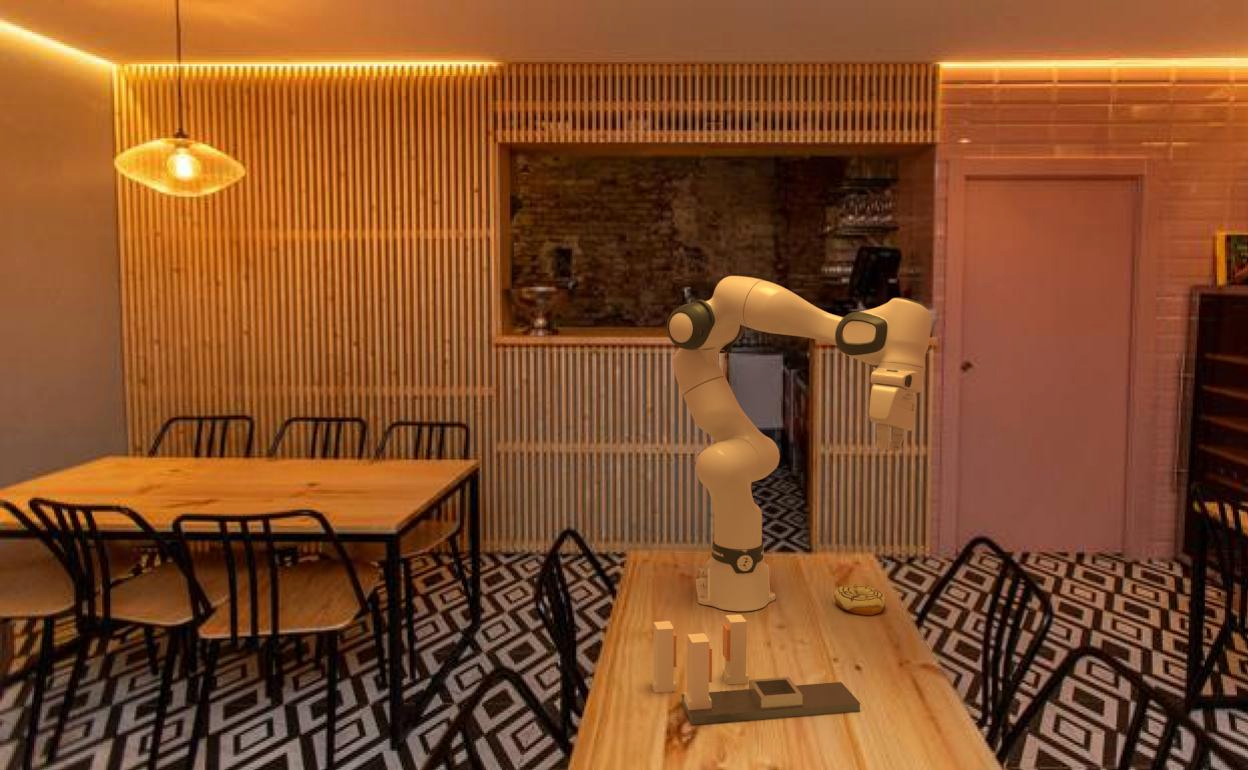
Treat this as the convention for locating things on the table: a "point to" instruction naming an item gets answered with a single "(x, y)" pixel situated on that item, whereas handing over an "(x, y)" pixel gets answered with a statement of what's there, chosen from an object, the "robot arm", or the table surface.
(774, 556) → the table surface
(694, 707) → the post
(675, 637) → the white orange block
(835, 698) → the rail
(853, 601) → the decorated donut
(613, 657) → the table surface
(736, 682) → the beige tall square block
